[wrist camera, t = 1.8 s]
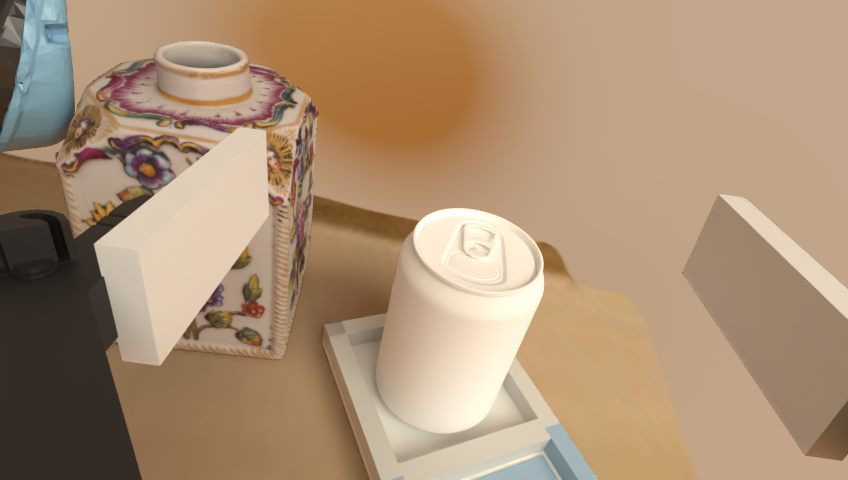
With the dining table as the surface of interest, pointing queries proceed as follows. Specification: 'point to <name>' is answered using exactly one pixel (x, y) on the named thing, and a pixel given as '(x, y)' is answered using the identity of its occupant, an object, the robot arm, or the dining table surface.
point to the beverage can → (456, 317)
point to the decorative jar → (179, 149)
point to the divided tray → (454, 452)
